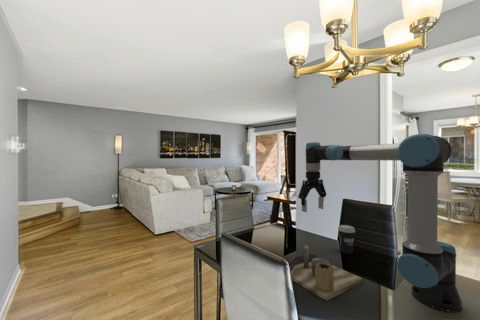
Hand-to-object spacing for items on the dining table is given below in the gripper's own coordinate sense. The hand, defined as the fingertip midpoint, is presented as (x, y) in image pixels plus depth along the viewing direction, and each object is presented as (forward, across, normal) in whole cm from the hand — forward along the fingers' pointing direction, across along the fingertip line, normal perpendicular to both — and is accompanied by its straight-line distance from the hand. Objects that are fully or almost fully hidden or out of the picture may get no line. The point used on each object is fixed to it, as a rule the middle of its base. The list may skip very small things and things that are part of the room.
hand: (312, 210), depth 125 cm
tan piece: (+26, +19, +21) cm, 39 cm away
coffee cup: (+28, -28, +2) cm, 40 cm away
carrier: (+28, +11, +13) cm, 33 cm away
